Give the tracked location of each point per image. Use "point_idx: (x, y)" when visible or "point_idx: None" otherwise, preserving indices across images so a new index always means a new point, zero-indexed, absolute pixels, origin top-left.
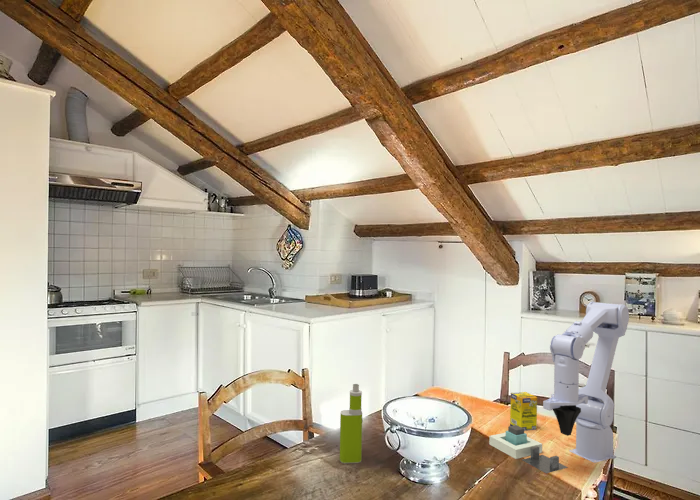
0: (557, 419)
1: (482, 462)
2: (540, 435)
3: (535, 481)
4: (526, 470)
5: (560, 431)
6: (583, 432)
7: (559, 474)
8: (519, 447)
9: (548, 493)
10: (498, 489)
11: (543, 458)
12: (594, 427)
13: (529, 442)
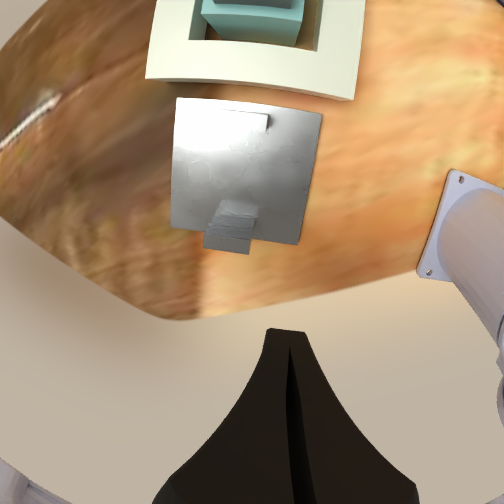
0: (239, 400)
1: (58, 53)
2: (493, 28)
3: (111, 227)
4: (140, 159)
5: (266, 334)
6: (490, 288)
7: None
8: (186, 63)
9: (101, 283)
10: (12, 205)
11: (285, 139)
12: (500, 348)
13: (317, 41)
